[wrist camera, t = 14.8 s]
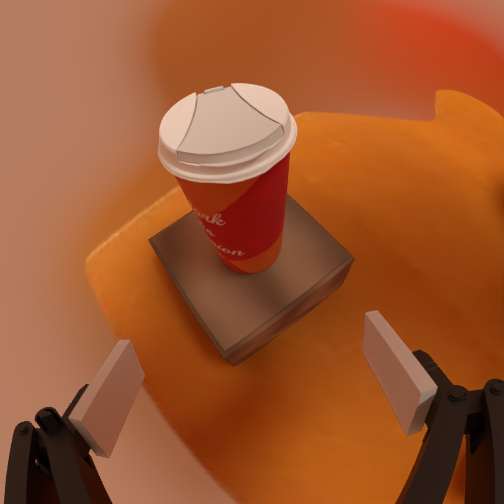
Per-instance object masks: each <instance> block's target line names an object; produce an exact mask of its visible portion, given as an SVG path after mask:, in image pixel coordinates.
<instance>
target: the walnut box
mask: <svg viewBox="0 0 504 504" xmlns="http://www.w3.org/2000/svg"><path fill="white" fill-rule="evenodd" d="M149 242H150V244H151V246H152V247H153V249H154V251H155V253H156V254H157V256H158V258H159V259H160V261H161V263H162V264H163V266H164V268H165V269H166V271H167V273H168V274H169V276H170V278H171V279H172V281H173V283H174V284H175V286H176V287H177V289H178V291H179V292H180V294H181V295H182V297H183V299H184V300H185V302H186V303H187V305H188V306H189V308H190V309H191V311H192V312H193V314H194V316H195V317H196V319H197V320H198V322H199V323H200V325H201V326H202V328H203V329H204V331H205V332H206V334H207V335H208V336H209V338H210V339H211V341H212V342H213V344H214V345H215V347H216V348H217V349H218V351H219V352H220V354H221V355H222V356H223V358H224V359H225V360H227V361H228V362H230V363H231V364H233V365H234V366H237V365H238V364H239V363H241V362H242V361H244V360H245V359H247V358H248V357H249V356H251V355H252V354H254V353H255V352H256V351H258V350H259V349H261V348H262V347H263V346H265V345H266V344H267V343H269V342H270V341H271V340H273V339H274V338H275V337H277V336H278V335H279V334H281V333H282V332H283V331H285V330H286V329H287V328H289V327H290V326H291V325H293V324H294V323H295V322H296V321H298V320H299V319H300V318H302V317H303V316H304V315H305V314H307V313H308V312H309V311H310V310H312V309H313V308H314V307H315V306H317V305H318V304H319V303H320V302H322V301H323V300H324V299H325V298H326V297H328V296H329V295H330V294H331V293H333V292H334V291H335V290H336V289H337V288H338V287H340V286H341V285H342V284H343V282H344V280H345V278H346V276H347V274H348V271H349V269H350V267H351V265H352V263H353V261H354V259H355V258H354V257H353V256H352V255H351V254H350V253H349V252H348V251H347V250H346V249H345V248H344V247H343V246H342V245H341V244H340V243H339V242H338V241H337V240H336V239H335V238H334V237H332V236H331V235H330V234H329V233H328V232H327V231H326V230H325V229H324V228H323V227H322V226H321V225H320V224H319V223H318V222H317V221H316V220H315V219H314V218H313V217H312V216H311V215H310V214H309V213H307V212H306V211H305V210H304V209H303V208H302V207H301V206H300V205H299V204H298V203H297V202H296V201H295V200H293V199H292V198H291V197H290V196H289V195H288V194H287V196H286V208H285V219H284V229H283V238H282V245H281V250H280V253H279V256H278V258H277V259H276V261H275V262H274V263H273V264H272V265H271V266H270V267H269V268H267V269H266V270H264V271H261V272H259V273H254V274H242V273H238V272H236V271H234V270H232V269H230V268H229V267H228V266H227V265H226V264H225V263H224V262H223V261H222V259H221V258H220V256H219V254H218V253H217V251H216V249H215V248H214V246H213V244H212V243H211V241H210V239H209V237H208V236H207V234H206V232H205V230H204V228H203V227H202V225H201V223H200V221H199V220H198V218H197V216H196V214H195V212H194V210H192V211H191V212H189V213H188V214H186V215H185V216H183V217H182V218H180V219H179V220H177V221H175V222H174V223H172V224H171V225H169V226H168V227H166V228H165V229H163V230H162V231H160V232H159V233H157V234H156V235H154V236H153V237H151V238H150V239H149Z"/></svg>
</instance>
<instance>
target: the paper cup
mask: <svg viewBox="0 0 504 504" xmlns="http://www.w3.org/2000/svg"><path fill="white" fill-rule="evenodd" d="M159 137H160V140H159V144H158V155H159V158H160V161H161V163H162V165H163V166H164V167H165V168H166V170H168V171H169V172H170V173H172V174H173V175H175V177H176V179H177V181H178V183H179V185H180V186H181V188H182V190H183V192H184V194H185V196H186V198H187V199H188V201H189V203H190V205H191V207H192V209H193V210H194V212H195V214H196V216H197V218H198V220H199V221H200V223H201V225H202V227H203V228H204V230H205V232H206V234H207V236H208V237H209V239H210V241H211V243H212V244H213V246H214V248H215V249H216V251H217V253H218V254H219V256H220V258H221V259H222V261H223V262H224V263H225V264H226V265H227V266H228V267H229V268H230V269H232V270H234V271H236V272H238V273H242V274H254V273H259V272H261V271H264V270H266V269H267V268H269V267H270V266H271V265H272V264H273V263H274V262H275V261H276V259H277V258H278V256H279V253H280V250H281V245H282V238H283V229H284V219H285V208H286V196H287V184H288V172H289V158H290V150H291V148H292V147H293V145H294V143H295V140H296V137H297V126H296V122H295V120H294V118H293V116H292V115H291V114H290V112H289V110H288V107H287V105H286V103H285V101H284V100H283V99H282V98H281V97H280V96H279V95H278V94H277V93H275V92H273V91H272V90H270V89H267V88H265V87H262V86H257V85H252V84H241V83H239V84H237V83H235V84H231V87H227V88H223V86H220V87H216V88H212V89H208V90H205V93H203V94H198V98H197V95H196V93H193V94H191V95H189V96H187V97H185V98H184V99H182V100H181V101H179V102H178V103H176V104H175V105H174V106H173V107H172V108H171V109H170V110H169V111H168V112H167V113H166V115H165V116H164V118H163V119H162V122H161V125H160V129H159Z"/></svg>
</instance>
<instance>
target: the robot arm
mask: <svg viewBox="0 0 504 504" xmlns="http://www.w3.org/2000/svg"><path fill="white" fill-rule="evenodd" d="M363 355H364V357H365V358H366V360H367V362H368V364H369V366H370V367H371V369H372V371H373V373H374V375H375V377H376V378H377V380H378V382H379V384H380V386H381V388H382V390H383V392H384V393H385V395H386V397H387V399H388V401H389V403H390V405H391V407H392V409H393V411H394V413H395V415H396V417H397V418H398V420H399V422H400V424H401V426H402V428H403V430H404V432H405V434H406V436H408V435H410V434H413V433H416V432H418V431H421V430H422V427H423V425H424V423H426V425H427V427H428V430H427V432H426V434H425V436H424V439H423V441H422V442H423V443H422V446H421V449H420V451H419V454H418V456H417V459H416V461H415V464H414V466H413V468H412V470H411V473H410V475H409V477H408V479H407V481H406V484H405V486H404V488H403V490H402V492H401V494H400V496H399V498H398V500H397V501H396V503H395V504H442V503H443V500H444V498H445V495H446V492H447V490H448V487H449V484H450V481H451V478H452V475H453V472H454V468H455V465H456V462H457V458H458V455H459V451H460V447H461V443H462V439H463V435H465V434H466V488H465V502H464V504H504V381H503V380H500V379H491V380H489V381H488V382H487V383H486V384H485V386H484V389H481V390H475V391H468V390H467V389H466V388H464V387H462V386H459V385H453V384H452V383H451V382H450V380H449V379H448V378H447V377H446V375H445V374H444V373H443V372H442V370H441V369H440V368H439V367H438V365H437V364H436V363H435V362H434V361H433V359H432V358H431V357H430V356H429V355H428V354H427V353H425V352H423V351H422V350H417V351H414V352H411V351H410V350H409V348H408V347H407V346H406V345H405V343H404V342H403V341H402V340H401V338H400V337H399V336H398V335H397V333H396V332H395V331H394V330H393V328H392V327H391V326H390V325H389V323H388V322H387V321H386V320H385V319H384V317H383V316H382V315H381V314H380V312H379V311H378V310H375V311H370V312H366V313H365V321H364V339H363ZM144 378H145V374H144V372H143V369H142V367H141V365H140V362H139V360H138V357H137V355H136V352H135V350H134V347H133V345H132V342H131V340H119V341H118V343H117V344H116V346H115V347H114V349H113V350H112V351H111V353H110V354H109V356H108V357H107V359H106V360H105V362H104V363H103V365H102V366H101V368H100V369H99V371H98V372H97V374H96V375H95V377H94V378H93V380H92V381H91V383H90V384H86V385H85V386H84V387H82V388H81V389H80V390H79V391H78V393H77V394H76V396H75V398H74V399H73V401H72V403H70V405H69V407H68V408H67V410H66V411H65V413H64V414H63V416H62V417H60V415H59V414H58V412H57V411H56V409H54V408H52V407H46V408H43V409H41V410H40V411H39V412H38V413H37V414H36V416H35V421H36V422H37V424H38V425H39V426H40V428H35V427H34V426H33V425H32V423H30V422H29V421H24V422H21V423H19V424H18V425H17V426H16V427H15V430H14V433H13V438H12V443H11V449H10V454H9V461H8V467H7V475H6V485H5V496H4V497H5V498H4V504H112V502H111V500H110V498H109V496H108V494H107V492H106V490H105V488H104V485H103V483H102V481H101V479H100V476H99V474H98V472H97V470H96V467H95V465H94V462H93V460H92V457H91V456H90V455H89V451H90V449H92V450H93V452H94V453H95V454H96V455H97V456H102V457H106V458H110V455H111V453H112V451H113V448H114V446H115V443H116V441H117V439H118V436H119V434H120V432H121V429H122V427H123V425H124V422H125V420H126V418H127V415H128V413H129V411H130V408H131V406H132V404H133V402H134V400H135V397H136V395H137V393H138V391H139V389H140V386H141V384H142V382H143V380H144ZM35 459H36V461H37V463H36V461H35Z"/></svg>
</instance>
